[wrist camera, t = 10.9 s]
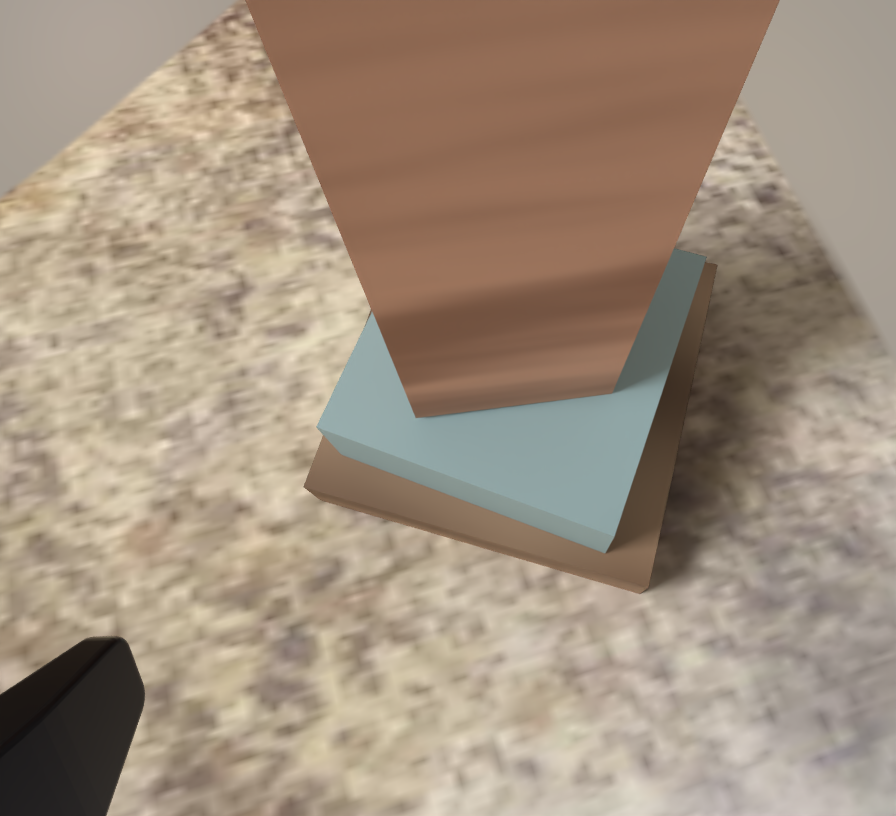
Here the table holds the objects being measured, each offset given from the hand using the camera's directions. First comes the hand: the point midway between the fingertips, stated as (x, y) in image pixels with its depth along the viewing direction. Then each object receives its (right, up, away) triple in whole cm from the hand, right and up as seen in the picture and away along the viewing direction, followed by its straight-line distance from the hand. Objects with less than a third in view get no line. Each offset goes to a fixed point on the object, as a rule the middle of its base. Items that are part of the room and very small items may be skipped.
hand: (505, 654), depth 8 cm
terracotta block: (+1, +5, +11) cm, 12 cm away
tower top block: (+1, +4, +13) cm, 13 cm away
